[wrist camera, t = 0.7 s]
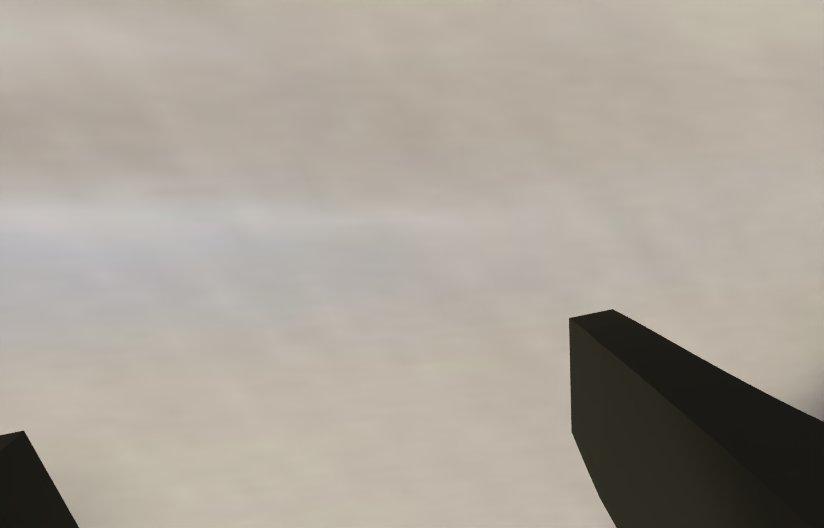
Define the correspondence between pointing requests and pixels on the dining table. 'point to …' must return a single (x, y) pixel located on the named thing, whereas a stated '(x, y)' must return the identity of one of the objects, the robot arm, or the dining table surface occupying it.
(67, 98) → the dining table surface
